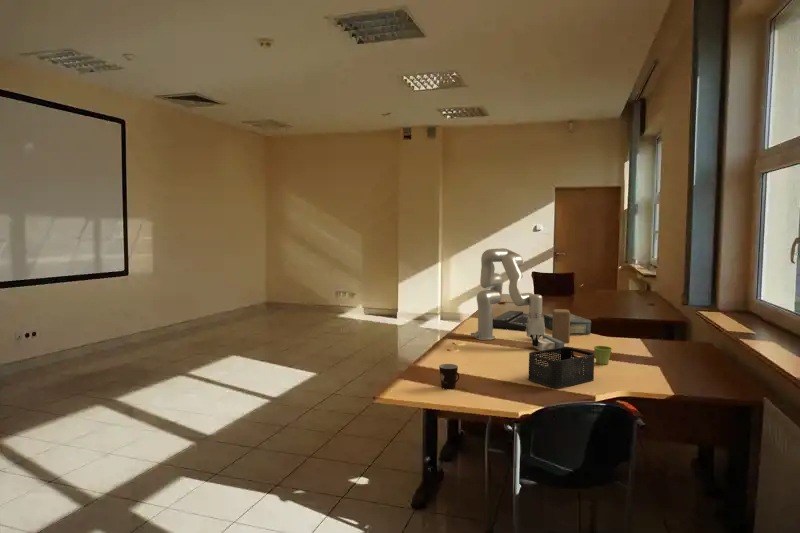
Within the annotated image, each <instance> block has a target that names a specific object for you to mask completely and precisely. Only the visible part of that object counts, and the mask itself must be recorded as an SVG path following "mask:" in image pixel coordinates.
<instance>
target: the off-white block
mask: <svg viewBox="0 0 800 533" xmlns="http://www.w3.org/2000/svg"><path fill="white" fill-rule="evenodd" d="M533 348H534V349H536V350H537V351H541V350H547V349H553V348H555V343H554V342H552V341H550V340H548V339H542V338H539V340H538V346H533Z"/></svg>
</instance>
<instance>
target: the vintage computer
mask: <svg viewBox="0 0 800 533" xmlns="http://www.w3.org/2000/svg"><path fill="white" fill-rule="evenodd" d="M527 314H528V313H524V311H523V310H522V311H519V310H508V311H505V312H503V313H502V314H499V315H498V316H496V317H493V329H495V330H496V329H497V330H500V329H501V330H507V329H508V330H509V331H521V332H526V327H527V320H528V317H529V316H527Z"/></svg>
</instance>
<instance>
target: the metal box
mask: <svg viewBox="0 0 800 533" xmlns="http://www.w3.org/2000/svg"><path fill="white" fill-rule="evenodd" d="M543 318H544V324H545V329H548V330H550V331H552V321H553V313H544V314H543ZM591 328H592V321H591V319H587V318H584V317H581V316H579V315H576V314H573V313H570V336H571V337H572V336H589V335H588V334H591Z"/></svg>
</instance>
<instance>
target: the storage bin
mask: <svg viewBox="0 0 800 533" xmlns="http://www.w3.org/2000/svg"><path fill="white" fill-rule="evenodd" d="M556 351H557V352H556ZM575 353H579V354H582V355H583V356H577V355H575ZM584 355H585V356H584ZM594 378H595V352H592V351H587V350H581V349H579V348H573V347H571V346H569V347H568V346H564V347H559V348H553V349H547V350H541V351H540V350H535V351H530V352H528V380H529V381H530V382H533V383H536V384H539V385H543V386H545V387H548V388H554V389H562V388H566V387H571V386H575V385H576V386H577V385H581V384H584V383H589V382H592V381H593V382H594V380H595V379H594Z"/></svg>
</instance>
